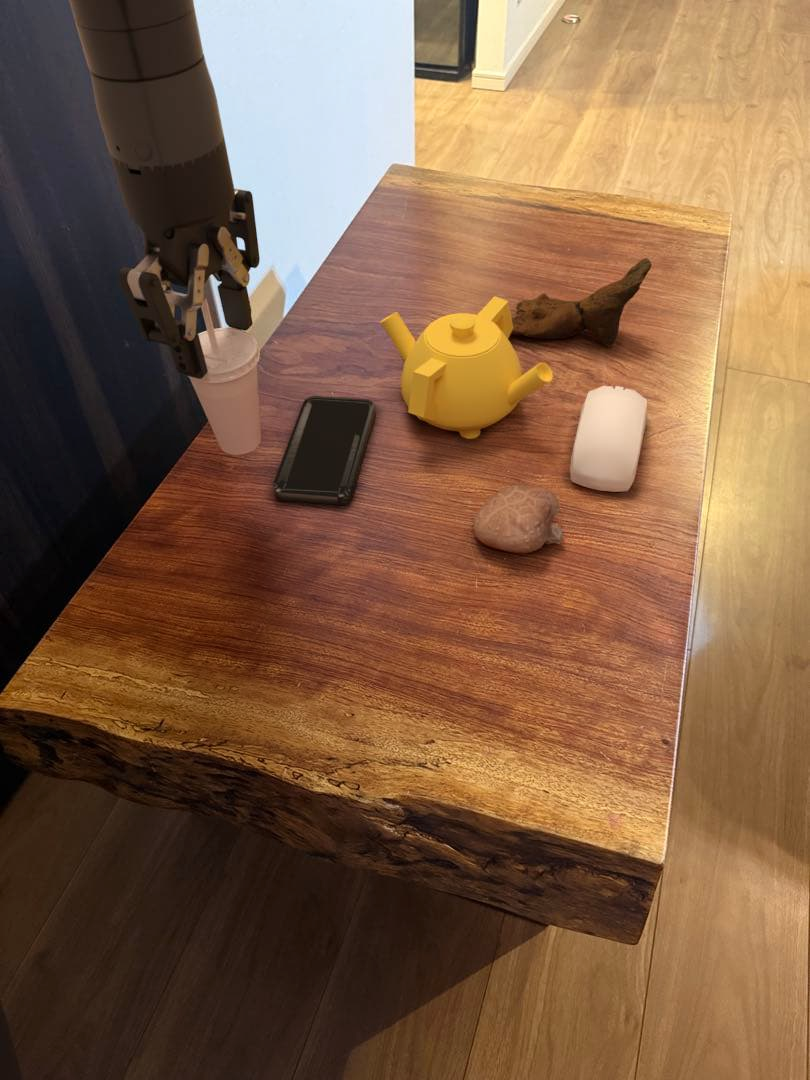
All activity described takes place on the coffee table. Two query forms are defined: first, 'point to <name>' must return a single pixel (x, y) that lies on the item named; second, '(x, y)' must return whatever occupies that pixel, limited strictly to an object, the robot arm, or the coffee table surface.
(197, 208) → the robot arm
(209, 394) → the smoothie
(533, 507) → the mushroom
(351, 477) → the phone
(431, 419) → the teapot
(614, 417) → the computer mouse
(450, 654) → the coffee table surface
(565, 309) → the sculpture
